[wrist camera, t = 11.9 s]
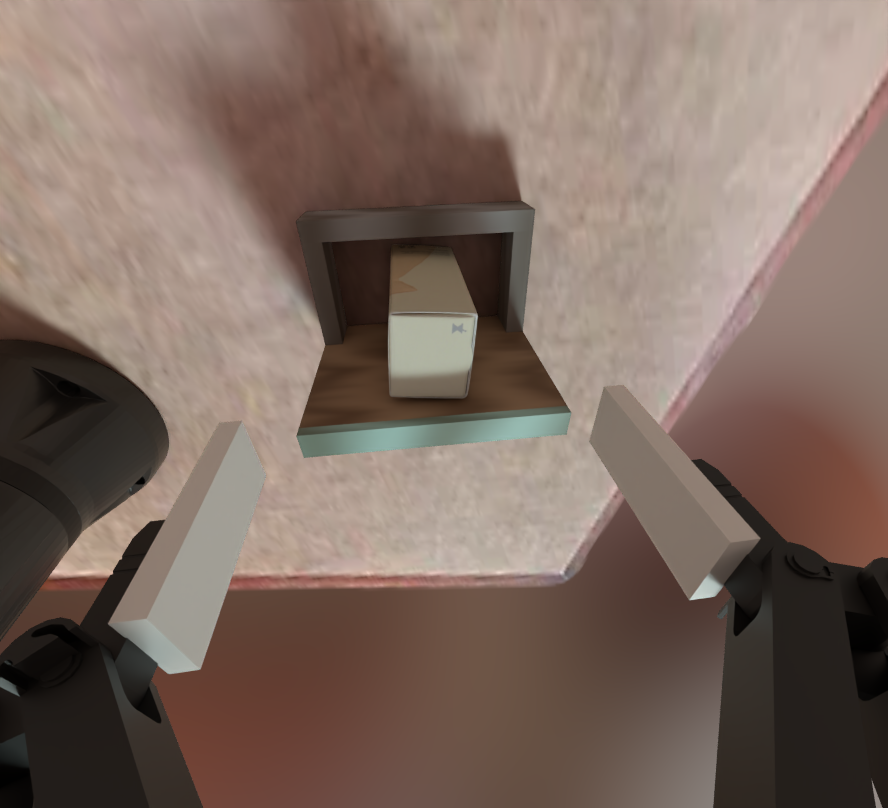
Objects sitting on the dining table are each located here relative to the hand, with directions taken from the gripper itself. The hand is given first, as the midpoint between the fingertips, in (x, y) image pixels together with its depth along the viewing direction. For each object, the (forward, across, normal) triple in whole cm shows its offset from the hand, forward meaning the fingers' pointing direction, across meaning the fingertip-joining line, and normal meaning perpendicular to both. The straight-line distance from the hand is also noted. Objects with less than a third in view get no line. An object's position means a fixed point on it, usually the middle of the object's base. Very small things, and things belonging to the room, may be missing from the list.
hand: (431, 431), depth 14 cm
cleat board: (+17, +1, 0) cm, 17 cm away
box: (+17, +1, 0) cm, 17 cm away
